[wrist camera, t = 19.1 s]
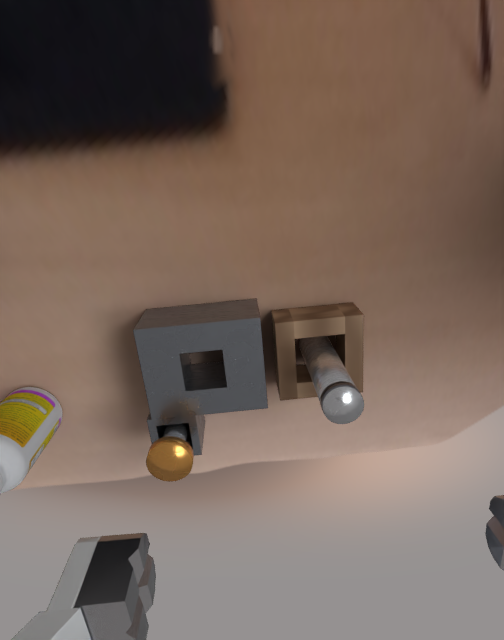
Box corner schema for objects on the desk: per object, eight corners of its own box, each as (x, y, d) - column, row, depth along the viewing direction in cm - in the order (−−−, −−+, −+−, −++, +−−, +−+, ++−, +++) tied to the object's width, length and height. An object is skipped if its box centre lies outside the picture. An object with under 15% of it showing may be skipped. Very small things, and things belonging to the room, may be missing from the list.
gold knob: (194, 405, 43) (189, 442, 37) (200, 439, 45) (195, 478, 39) (154, 409, 43) (142, 446, 37) (161, 442, 45) (150, 483, 39)
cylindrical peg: (328, 327, 45) (365, 386, 32) (329, 355, 46) (364, 422, 34) (297, 330, 45) (322, 390, 32) (299, 358, 46) (323, 426, 34)
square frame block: (352, 302, 44) (363, 314, 40) (352, 374, 47) (362, 392, 43) (271, 310, 44) (274, 323, 40) (276, 382, 47) (280, 400, 43)
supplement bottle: (-2, 387, 45) (-86, 464, 33) (56, 381, 45) (-7, 457, 33) (15, 435, 48) (-58, 524, 36) (70, 430, 48) (16, 517, 36)
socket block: (256, 298, 43) (260, 317, 37) (266, 415, 48) (271, 447, 43) (141, 309, 43) (127, 330, 37) (164, 425, 48) (155, 459, 43)
